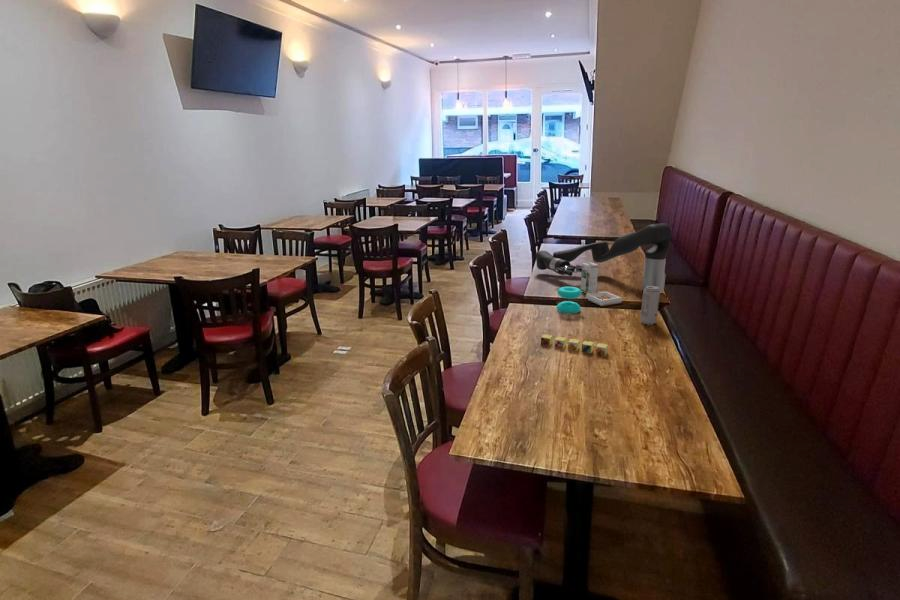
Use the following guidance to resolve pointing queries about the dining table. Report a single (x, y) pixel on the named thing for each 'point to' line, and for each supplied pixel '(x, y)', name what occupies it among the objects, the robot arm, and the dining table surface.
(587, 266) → the syrup box
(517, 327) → the dining table surface
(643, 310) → the energy drink can
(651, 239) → the robot arm
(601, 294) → the tray
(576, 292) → the donuts
